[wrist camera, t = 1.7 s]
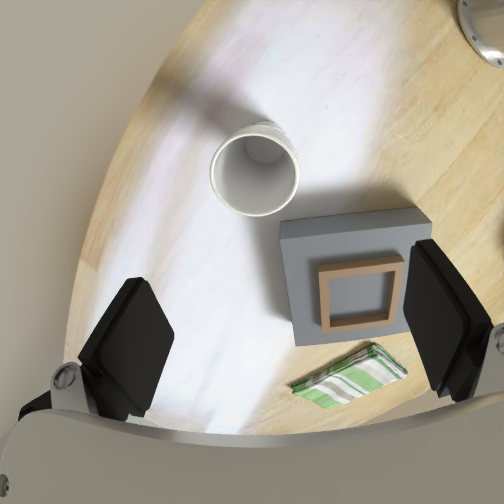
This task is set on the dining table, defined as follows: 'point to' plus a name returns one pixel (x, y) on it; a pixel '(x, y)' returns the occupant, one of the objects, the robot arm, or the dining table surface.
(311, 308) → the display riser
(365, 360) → the dish towel
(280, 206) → the white tapered cylinder
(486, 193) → the dining table surface
